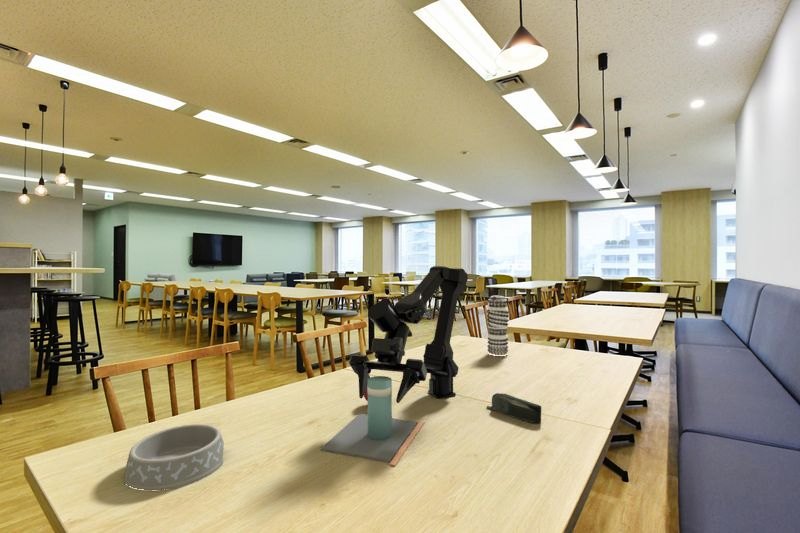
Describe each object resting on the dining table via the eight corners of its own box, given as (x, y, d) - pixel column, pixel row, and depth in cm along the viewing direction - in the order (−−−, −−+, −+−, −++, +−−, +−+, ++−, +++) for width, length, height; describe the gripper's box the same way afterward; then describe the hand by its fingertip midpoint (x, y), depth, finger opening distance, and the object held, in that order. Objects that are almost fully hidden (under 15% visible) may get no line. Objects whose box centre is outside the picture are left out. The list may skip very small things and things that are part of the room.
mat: (417, 423, 99) (417, 421, 99) (389, 462, 81) (389, 460, 81) (359, 415, 105) (359, 413, 105) (320, 450, 86) (320, 448, 86)
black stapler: (543, 404, 100) (491, 388, 110) (537, 407, 98) (485, 391, 108) (542, 423, 100) (490, 406, 111) (537, 426, 98) (484, 409, 109)
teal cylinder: (386, 427, 96) (386, 374, 95) (395, 437, 91) (395, 381, 90) (364, 432, 94) (364, 377, 93) (372, 442, 88) (372, 384, 88)
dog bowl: (115, 502, 68) (114, 471, 68) (137, 454, 85) (137, 429, 85) (223, 479, 75) (223, 451, 75) (224, 439, 92) (223, 416, 92)
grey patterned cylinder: (487, 356, 165) (487, 297, 165) (486, 351, 174) (486, 294, 174) (509, 357, 164) (510, 297, 163) (507, 352, 173) (507, 295, 172)
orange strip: (420, 421, 100) (420, 420, 100) (424, 422, 100) (424, 421, 100) (389, 465, 79) (389, 463, 79) (395, 466, 79) (395, 464, 79)
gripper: (351, 322, 99) (330, 379, 89) (423, 326, 93) (409, 387, 83) (364, 346, 107) (346, 401, 96) (432, 351, 100) (420, 410, 90)
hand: (378, 400), depth 91 cm, fingers open, 9 cm apart
